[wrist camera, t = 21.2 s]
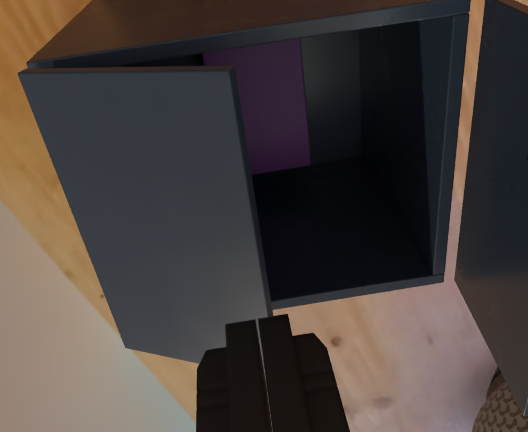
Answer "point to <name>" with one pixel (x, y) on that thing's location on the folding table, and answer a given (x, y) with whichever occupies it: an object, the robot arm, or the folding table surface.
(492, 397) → the planter
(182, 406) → the folding table surface
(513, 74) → the bin
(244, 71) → the block
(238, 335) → the robot arm
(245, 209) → the box flap
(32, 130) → the folding table surface
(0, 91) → the folding table surface
